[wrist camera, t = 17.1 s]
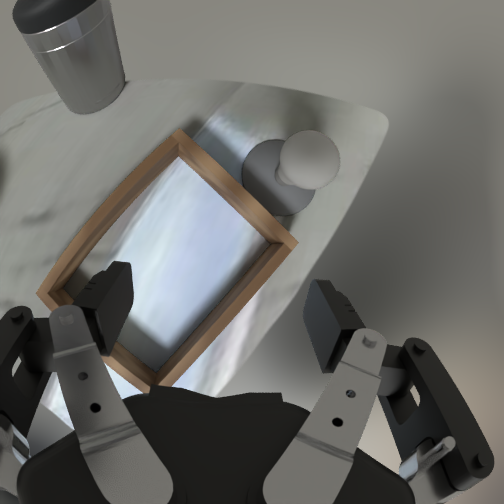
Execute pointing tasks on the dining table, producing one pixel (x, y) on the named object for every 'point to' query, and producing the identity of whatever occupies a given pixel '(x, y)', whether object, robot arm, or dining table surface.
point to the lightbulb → (308, 161)
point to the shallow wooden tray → (227, 307)
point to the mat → (272, 181)
